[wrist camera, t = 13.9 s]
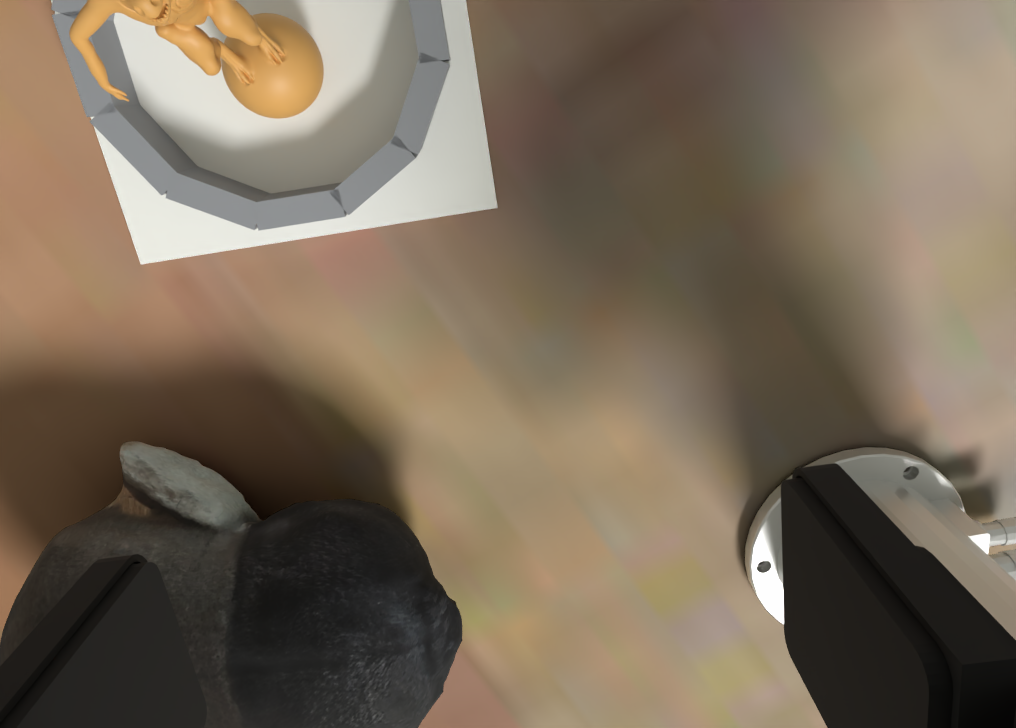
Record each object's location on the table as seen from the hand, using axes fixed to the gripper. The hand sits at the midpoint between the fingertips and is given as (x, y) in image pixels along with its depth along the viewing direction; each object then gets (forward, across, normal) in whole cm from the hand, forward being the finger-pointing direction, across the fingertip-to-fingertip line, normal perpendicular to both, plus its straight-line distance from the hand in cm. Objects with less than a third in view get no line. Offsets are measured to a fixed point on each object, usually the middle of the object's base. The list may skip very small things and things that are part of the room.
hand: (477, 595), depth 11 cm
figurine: (+25, +8, -11) cm, 29 cm away
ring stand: (+26, +8, -11) cm, 29 cm away
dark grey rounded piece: (+27, +16, +16) cm, 35 cm away
